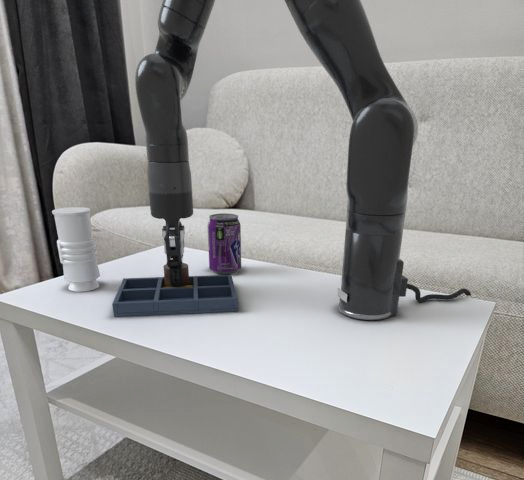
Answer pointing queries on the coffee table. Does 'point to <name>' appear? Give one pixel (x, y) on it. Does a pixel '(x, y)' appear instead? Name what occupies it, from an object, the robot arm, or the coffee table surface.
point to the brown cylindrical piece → (184, 275)
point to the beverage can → (224, 243)
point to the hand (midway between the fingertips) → (177, 281)
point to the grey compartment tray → (175, 296)
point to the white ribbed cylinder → (77, 248)
